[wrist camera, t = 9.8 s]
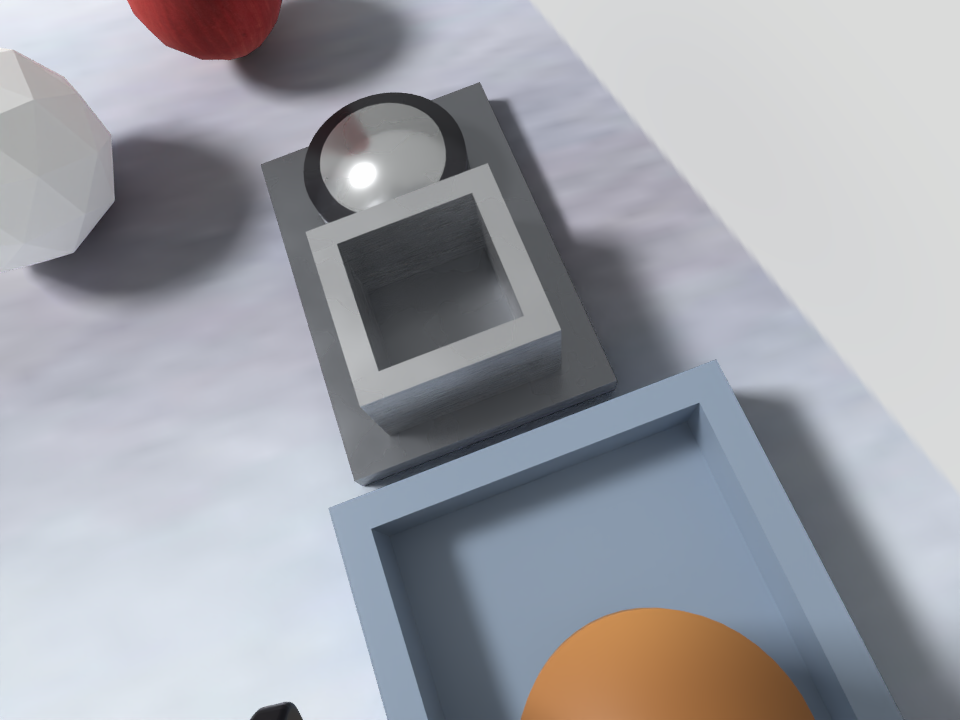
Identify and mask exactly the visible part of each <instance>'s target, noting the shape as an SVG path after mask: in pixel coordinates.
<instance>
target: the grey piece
mask: <svg viewBox="0 0 960 720" xmlns="http://www.w3.org/2000/svg"><path fill="white" fill-rule="evenodd" d="M261 167H262V171H263V174H264V177H265V181H266V184H267V187H268V191H269V194H270V198H271V201H272V204H273V208H274V211H275V214H276V218H277V221H278V225H279V228H280V231H281V235H282V238H283V241H284V245H285V248H286V252H287V255H288V258H289V262H290V265H291V268H292V272H293V275H294V279H295V282H296V285H297V289H298V292H299V295H300V299H301V302H302V305H303V309H304V312H305V316H306V319H307V322H308V326H309V329H310V332H311V336H312V339H313V343H314V346H315V349H316V353H317V356H318V359H319V363H320V366H321V370H322V373H323V376H324V380H325V383H326V386H327V390H328V393H329V397H330V400H331V403H332V407H333V410H334V413H335V417H336V420H337V423H338V427H339V430H340V434H341V437H342V440H343V444H344V447H345V450H346V454H347V457H348V461H349V464H350V467H351V471H352V474H353V477H354V481H355V482H357V483H359V484H360V485H362V486H365V485H367V484H370V483H372V482H375V481H378V480H380V479H383V478H385V477H388V476H391V475H393V474H396V473H399V472H401V471H404V470H406V469H409V468H412V467H414V466H417V465H419V464H422V463H425V462H427V461H430V460H432V459H435V458H438V457H440V456H443V455H445V454H448V453H451V452H453V451H456V450H458V449H461V448H464V447H466V446H469V445H472V444H474V443H477V442H479V441H482V440H485V439H487V438H490V437H492V436H495V435H498V434H500V433H503V432H505V431H508V430H511V429H513V428H516V427H518V426H521V425H524V424H526V423H529V422H531V421H534V420H537V419H539V418H542V417H545V416H547V415H550V414H552V413H555V412H558V411H560V410H563V409H565V408H568V407H571V406H573V405H576V404H578V403H581V402H584V401H586V400H589V399H591V398H594V397H597V396H599V395H602V394H604V393H607V392H610V391H612V390H615V387H616V383H617V379H616V377H615V375H614V373H613V371H612V368H611V366H610V364H609V362H608V360H607V358H606V355H605V353H604V351H603V349H602V347H601V345H600V342H599V340H598V338H597V336H596V334H595V331H594V329H593V327H592V325H591V323H590V321H589V318H588V316H587V314H586V312H585V310H584V308H583V305H582V303H581V301H580V299H579V297H578V295H577V292H576V290H575V288H574V286H573V284H572V281H571V279H570V277H569V275H568V273H567V271H566V268H565V266H564V264H563V262H562V260H561V258H560V255H559V253H558V251H557V249H556V247H555V245H554V242H553V240H552V238H551V236H550V234H549V231H548V229H547V227H546V225H545V223H544V221H543V218H542V216H541V214H540V212H539V210H538V208H537V205H536V203H535V201H534V199H533V197H532V194H531V192H530V190H529V188H528V186H527V184H526V181H525V179H524V177H523V175H522V173H521V171H520V168H519V166H518V164H517V162H516V160H515V158H514V155H513V153H512V151H511V149H510V147H509V144H508V142H507V140H506V138H505V136H504V134H503V131H502V129H501V127H500V125H499V123H498V121H497V118H496V116H495V114H494V112H493V110H492V108H491V105H490V103H489V101H488V99H487V97H486V94H485V92H484V90H483V88H482V86H481V84H480V82H479V83H476V84H474V85H471V86H468V87H466V88H463V89H460V90H458V91H455V92H452V93H450V94H447V95H444V96H442V97H439V98H436V99H434V100H429V99H426V98H424V97H421V96H417V95H413V94H407V93H382V94H376V95H371V96H368V97H365V98H362V99H359V100H357V101H355V102H352V103H350V104H348V105H347V106H345V107H343V108H342V109H340V110H339V111H337V112H336V113H335V114H333V115H332V116H331V117H330V118H329V119H328V120H327V121H326V122H325V123H324V124H323V125H322V126H321V127H320V128H319V130H318V131H317V133H316V134H315V136H314V137H313V139H312V141H311V143H310V145H309V147H306V148H303V149H301V150H298V151H296V152H293V153H290V154H288V155H285V156H282V157H280V158H277V159H274V160H272V161H269V162H266V163H264V164H261Z"/></svg>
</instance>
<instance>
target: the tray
mask: <svg viewBox="0 0 960 720" xmlns="http://www.w3.org/2000/svg"><path fill="white" fill-rule="evenodd" d="M329 511H330V515H331V519H332V522H333V526H334V529H335V533H336V537H337V540H338V544H339V547H340V551H341V554H342V558H343V562H344V565H345V569H346V572H347V576H348V580H349V583H350V587H351V590H352V594H353V598H354V601H355V605H356V608H357V612H358V615H359V619H360V623H361V626H362V630H363V633H364V637H365V641H366V644H367V648H368V651H369V655H370V658H371V662H372V666H373V669H374V673H375V676H376V680H377V684H378V687H379V691H380V694H381V698H382V702H383V705H384V709H385V712H386V716H387V719H388V720H521V716H522V713H523V710H524V707H525V704H526V701H527V698H528V696H529V694H530V691H531V689H532V687H533V685H534V683H535V681H536V679H537V677H538V675H539V673H540V671H541V669H542V668H543V666H544V665H545V663H546V662H547V660H548V659H549V657H550V656H551V655H552V654H553V653H554V652H555V650H556V649H557V648H558V647H559V646H560V645H561V644H562V643H563V642H564V641H565V640H566V639H567V638H569V637H570V636H571V635H572V634H573V633H574V632H576V631H577V630H579V629H580V628H582V627H583V626H585V625H586V624H588V623H590V622H592V621H594V620H596V619H598V618H601V617H603V616H605V615H608V614H611V613H615V612H618V611H621V610H628V609H634V608H665V609H673V610H680V611H685V612H689V613H693V614H697V615H701V616H704V617H707V618H709V619H712V620H714V621H717V622H719V623H722V624H724V625H726V626H727V627H729V628H731V629H733V630H735V631H737V632H739V633H740V634H742V635H743V636H745V637H746V638H747V639H749V640H750V641H752V642H753V643H755V644H756V645H757V646H759V647H760V648H761V649H762V650H763V651H764V652H765V653H766V654H767V655H769V656H770V657H771V658H772V659H773V660H774V661H775V662H776V663H777V664H778V665H779V666H780V668H781V669H782V670H783V671H784V672H785V673H786V674H787V676H788V677H789V678H790V679H791V681H792V682H793V683H794V685H795V686H796V688H797V689H798V691H799V692H800V693H801V695H802V696H803V698H804V700H805V702H806V704H807V705H808V707H809V709H810V711H811V713H812V715H813V716H814V719H815V720H904V719H903V717H902V715H901V713H900V711H899V709H898V707H897V705H896V703H895V701H894V699H893V698H892V696H891V694H890V692H889V690H888V688H887V686H886V684H885V682H884V680H883V678H882V676H881V675H880V673H879V671H878V669H877V667H876V665H875V663H874V661H873V659H872V657H871V655H870V653H869V652H868V650H867V648H866V646H865V644H864V642H863V640H862V638H861V636H860V634H859V632H858V630H857V628H856V627H855V625H854V623H853V621H852V619H851V617H850V615H849V613H848V611H847V609H846V607H845V605H844V604H843V602H842V600H841V598H840V596H839V594H838V592H837V590H836V588H835V586H834V584H833V582H832V581H831V579H830V577H829V575H828V573H827V571H826V569H825V567H824V565H823V563H822V561H821V559H820V558H819V556H818V554H817V552H816V550H815V548H814V546H813V544H812V542H811V540H810V538H809V536H808V535H807V533H806V531H805V529H804V527H803V525H802V523H801V521H800V519H799V517H798V515H797V513H796V512H795V510H794V508H793V506H792V504H791V502H790V500H789V498H788V496H787V494H786V492H785V490H784V488H783V487H782V485H781V483H780V481H779V479H778V477H777V475H776V473H775V471H774V469H773V467H772V465H771V464H770V462H769V460H768V458H767V456H766V454H765V452H764V450H763V448H762V446H761V444H760V442H759V441H758V439H757V437H756V435H755V433H754V431H753V429H752V427H751V425H750V423H749V421H748V419H747V418H746V416H745V414H744V412H743V410H742V408H741V406H740V404H739V402H738V400H737V398H736V396H735V395H734V393H733V391H732V389H731V387H730V385H729V383H728V381H727V379H726V377H725V375H724V373H723V371H722V370H721V368H720V366H719V364H718V362H717V360H713V361H710V362H708V363H705V364H703V365H700V366H697V367H695V368H692V369H690V370H687V371H684V372H682V373H679V374H677V375H674V376H671V377H669V378H666V379H664V380H661V381H658V382H656V383H653V384H650V385H648V386H645V387H643V388H640V389H637V390H635V391H632V392H630V393H627V394H624V395H622V396H619V397H617V398H614V399H611V400H609V401H606V402H604V403H601V404H598V405H596V406H593V407H591V408H588V409H585V410H583V411H580V412H578V413H575V414H572V415H570V416H567V417H564V418H562V419H559V420H557V421H554V422H551V423H549V424H546V425H544V426H541V427H538V428H536V429H533V430H531V431H528V432H525V433H523V434H520V435H518V436H515V437H512V438H510V439H507V440H505V441H502V442H499V443H497V444H494V445H492V446H489V447H486V448H484V449H481V450H478V451H476V452H473V453H471V454H468V455H465V456H463V457H460V458H458V459H455V460H452V461H450V462H447V463H445V464H442V465H439V466H437V467H434V468H432V469H429V470H426V471H424V472H421V473H419V474H416V475H413V476H411V477H408V478H406V479H403V480H400V481H398V482H395V483H393V484H390V485H387V486H385V487H382V488H379V489H377V490H374V491H372V492H369V493H366V494H364V495H361V496H359V497H356V498H353V499H351V500H348V501H346V502H343V503H340V504H338V505H335V506H333V507H330V508H329Z"/></svg>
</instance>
